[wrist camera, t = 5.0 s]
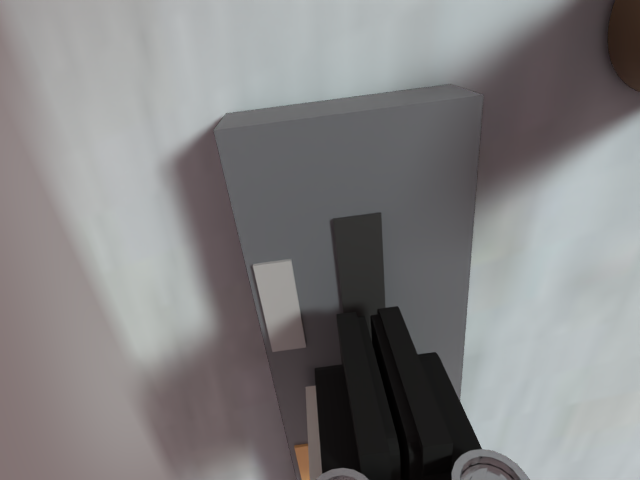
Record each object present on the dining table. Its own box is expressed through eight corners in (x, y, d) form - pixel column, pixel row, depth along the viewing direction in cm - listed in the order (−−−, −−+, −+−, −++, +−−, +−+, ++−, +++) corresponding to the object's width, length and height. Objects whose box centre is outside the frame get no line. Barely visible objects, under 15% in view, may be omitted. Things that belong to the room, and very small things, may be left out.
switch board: (226, 113, 10) (212, 131, 9) (450, 84, 11) (485, 95, 9) (310, 499, 19) (313, 550, 17) (435, 482, 19) (450, 531, 17)
